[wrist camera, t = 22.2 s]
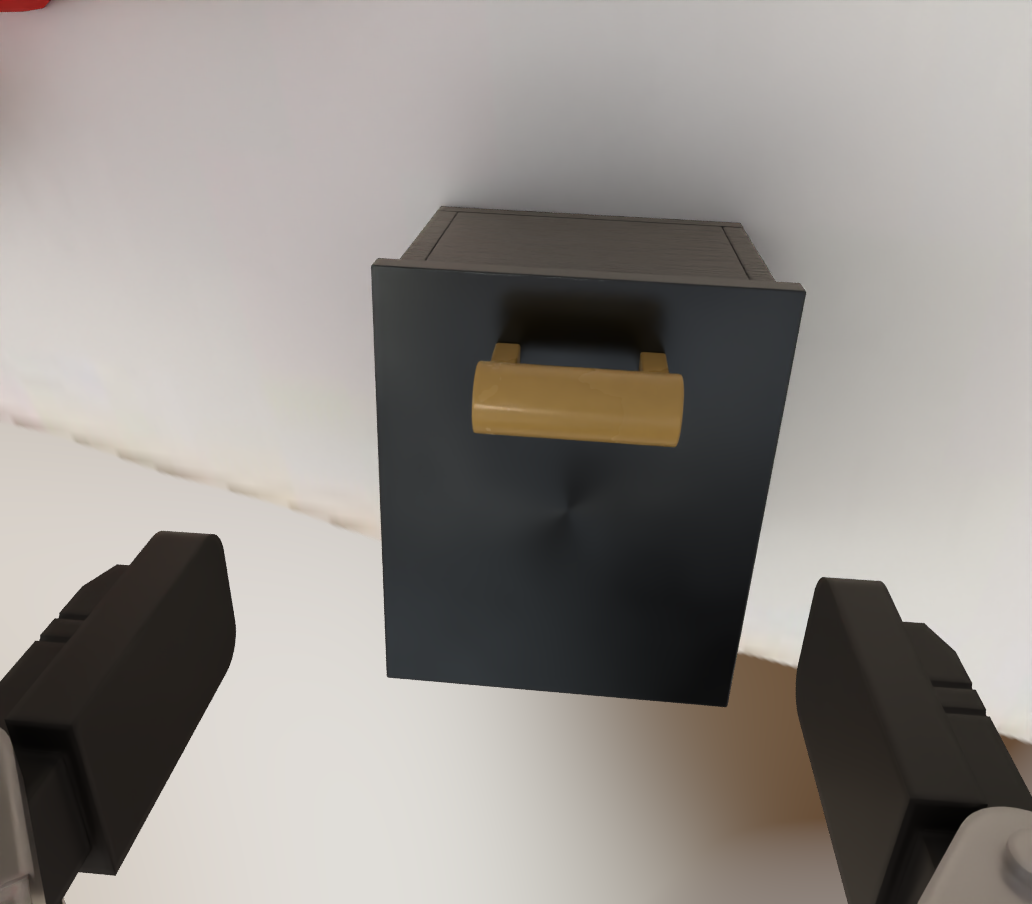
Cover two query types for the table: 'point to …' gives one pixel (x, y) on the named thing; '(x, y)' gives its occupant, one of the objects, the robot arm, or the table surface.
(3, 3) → the mug
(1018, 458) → the table surface
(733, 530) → the drawer with gold handle
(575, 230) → the black hollow box
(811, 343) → the table surface
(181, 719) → the robot arm
